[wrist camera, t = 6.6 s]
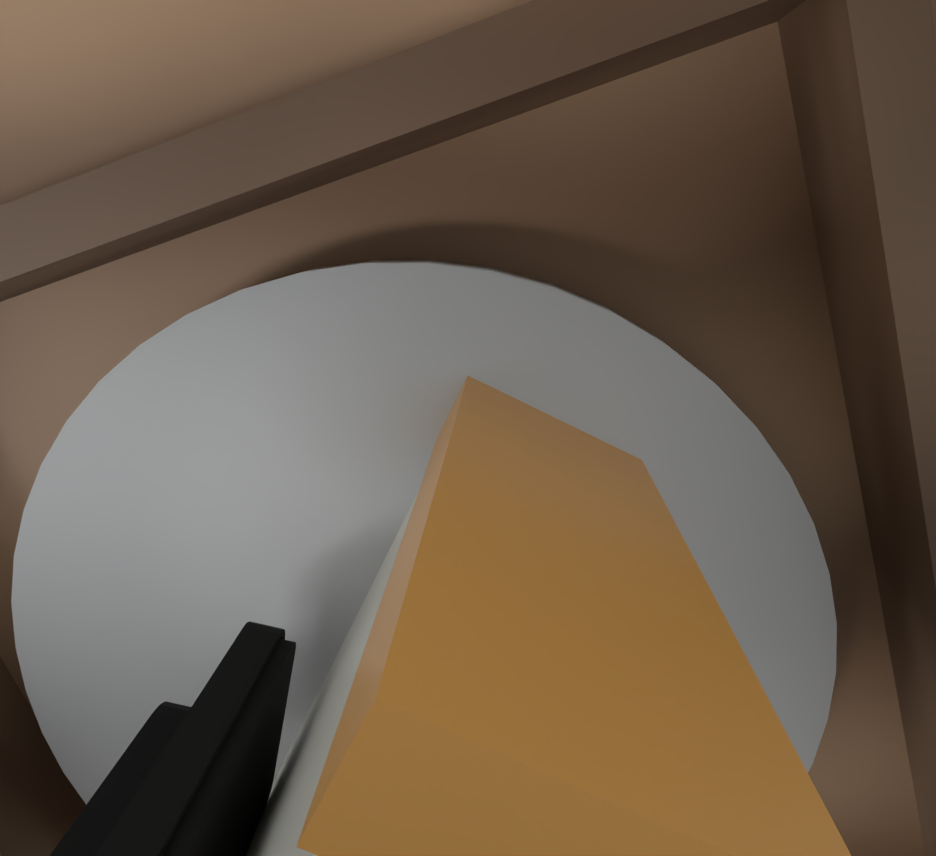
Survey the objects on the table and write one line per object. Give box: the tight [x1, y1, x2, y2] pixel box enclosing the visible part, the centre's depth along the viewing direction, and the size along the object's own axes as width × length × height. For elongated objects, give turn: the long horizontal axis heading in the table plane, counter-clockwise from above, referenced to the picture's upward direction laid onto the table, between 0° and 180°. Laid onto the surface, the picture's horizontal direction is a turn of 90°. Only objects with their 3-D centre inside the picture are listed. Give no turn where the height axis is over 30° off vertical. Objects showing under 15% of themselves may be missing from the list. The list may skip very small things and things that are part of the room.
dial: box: [11, 260, 851, 856], centre depth 8 cm, size 13×13×7 cm
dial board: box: [0, 0, 936, 856], centre depth 11 cm, size 25×25×4 cm
